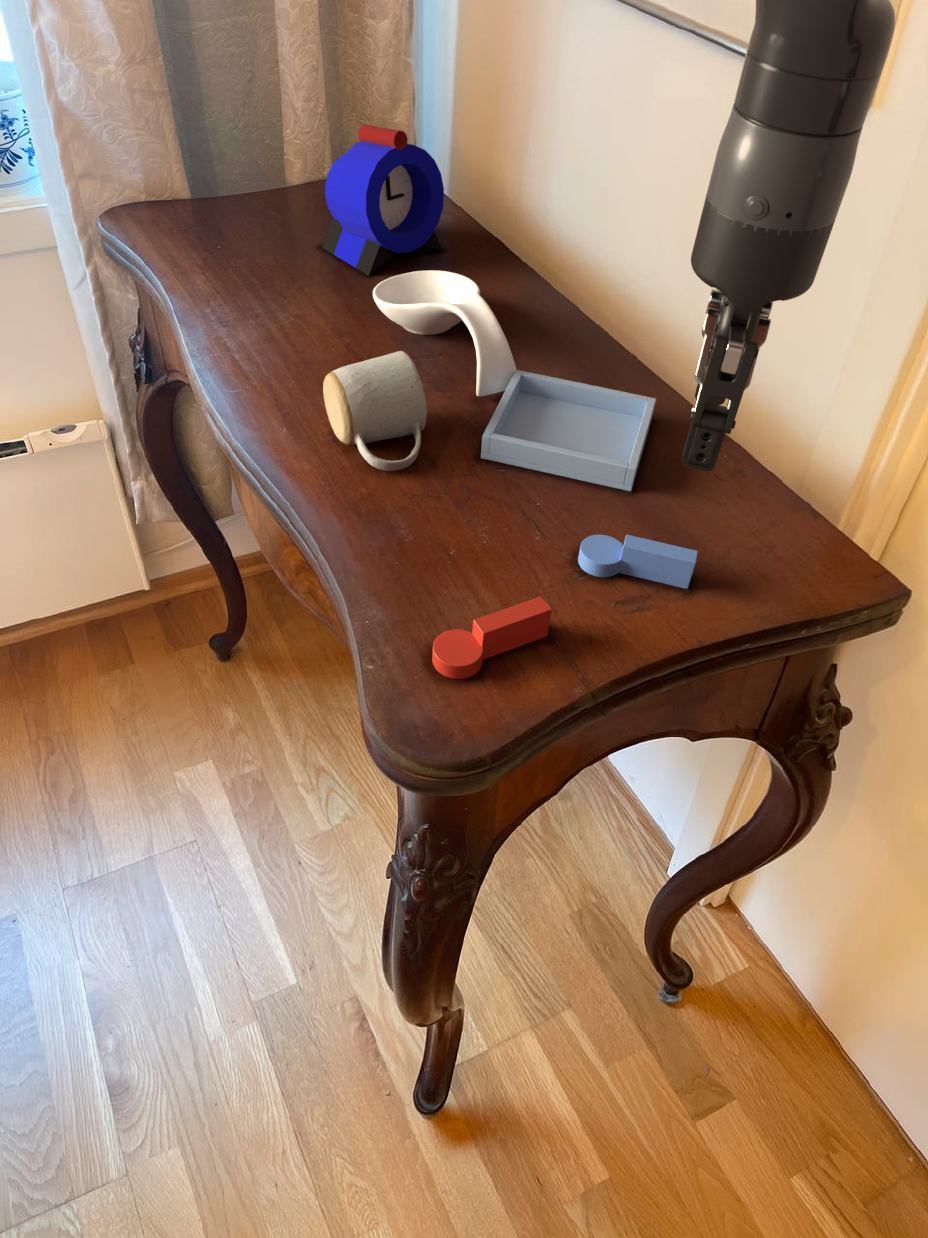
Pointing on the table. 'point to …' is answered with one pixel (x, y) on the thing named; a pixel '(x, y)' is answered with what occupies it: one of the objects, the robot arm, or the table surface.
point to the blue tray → (569, 429)
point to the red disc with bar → (490, 638)
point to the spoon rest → (450, 318)
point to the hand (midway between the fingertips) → (703, 431)
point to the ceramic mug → (377, 405)
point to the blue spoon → (637, 559)
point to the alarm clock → (382, 199)
